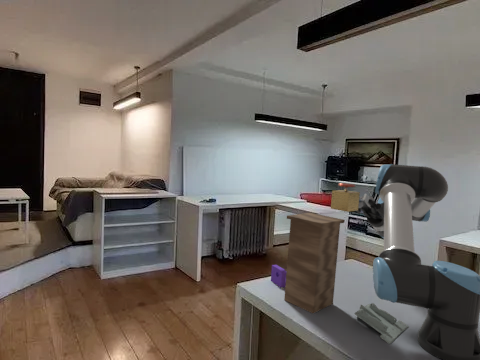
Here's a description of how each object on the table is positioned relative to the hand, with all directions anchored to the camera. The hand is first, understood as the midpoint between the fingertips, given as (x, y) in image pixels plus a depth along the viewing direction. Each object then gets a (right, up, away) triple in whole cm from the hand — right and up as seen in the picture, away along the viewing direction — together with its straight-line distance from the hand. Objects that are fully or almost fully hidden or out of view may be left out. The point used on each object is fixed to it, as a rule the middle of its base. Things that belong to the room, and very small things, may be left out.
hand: (358, 195), depth 131 cm
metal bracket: (-5, -39, -31) cm, 50 cm away
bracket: (-29, -35, 0) cm, 46 cm away
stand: (-24, -36, -17) cm, 47 cm away
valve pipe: (-2, -5, -1) cm, 6 cm away
